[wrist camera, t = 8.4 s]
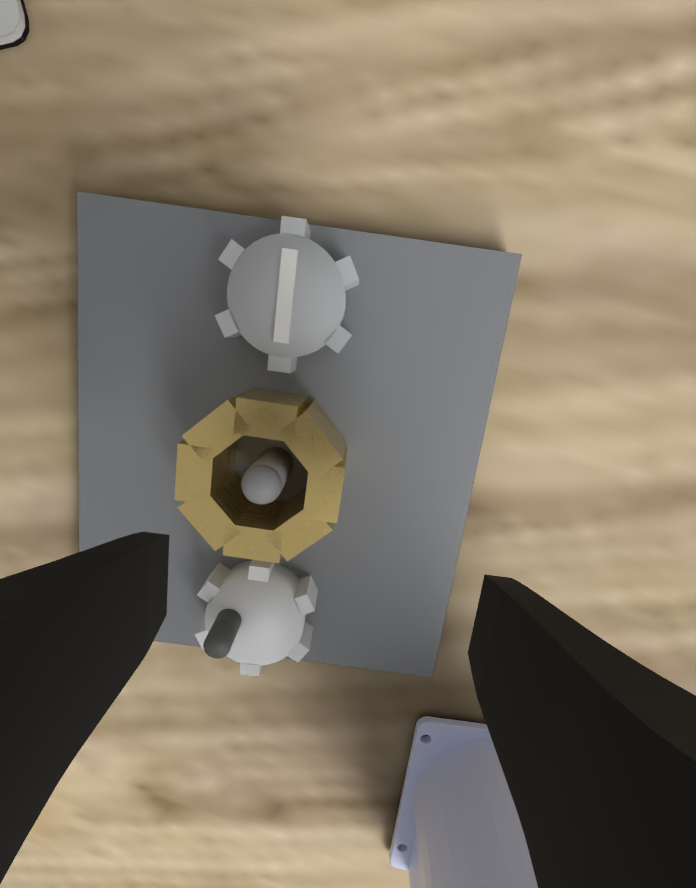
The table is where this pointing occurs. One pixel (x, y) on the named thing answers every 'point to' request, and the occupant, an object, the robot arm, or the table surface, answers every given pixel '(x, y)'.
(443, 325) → the gear board
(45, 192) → the table surface
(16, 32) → the smartphone
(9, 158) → the table surface
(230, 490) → the brass gear
